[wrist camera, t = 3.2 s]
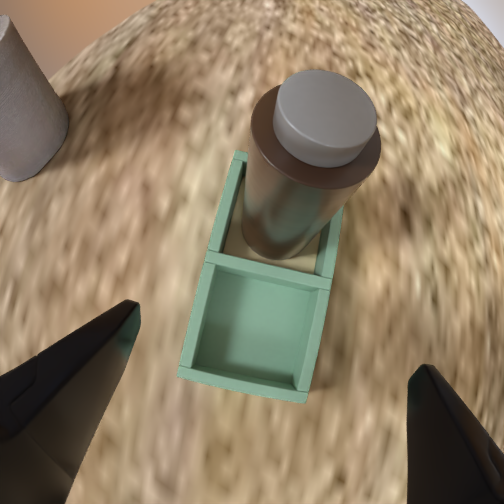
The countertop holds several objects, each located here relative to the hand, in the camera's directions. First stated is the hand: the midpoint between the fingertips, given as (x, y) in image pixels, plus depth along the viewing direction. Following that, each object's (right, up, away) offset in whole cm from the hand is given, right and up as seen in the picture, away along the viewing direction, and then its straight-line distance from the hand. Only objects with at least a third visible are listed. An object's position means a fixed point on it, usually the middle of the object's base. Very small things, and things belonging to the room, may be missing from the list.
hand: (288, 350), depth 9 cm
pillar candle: (-23, +14, +16) cm, 32 cm away
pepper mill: (+1, +5, +15) cm, 15 cm away
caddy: (0, +1, +14) cm, 14 cm away
